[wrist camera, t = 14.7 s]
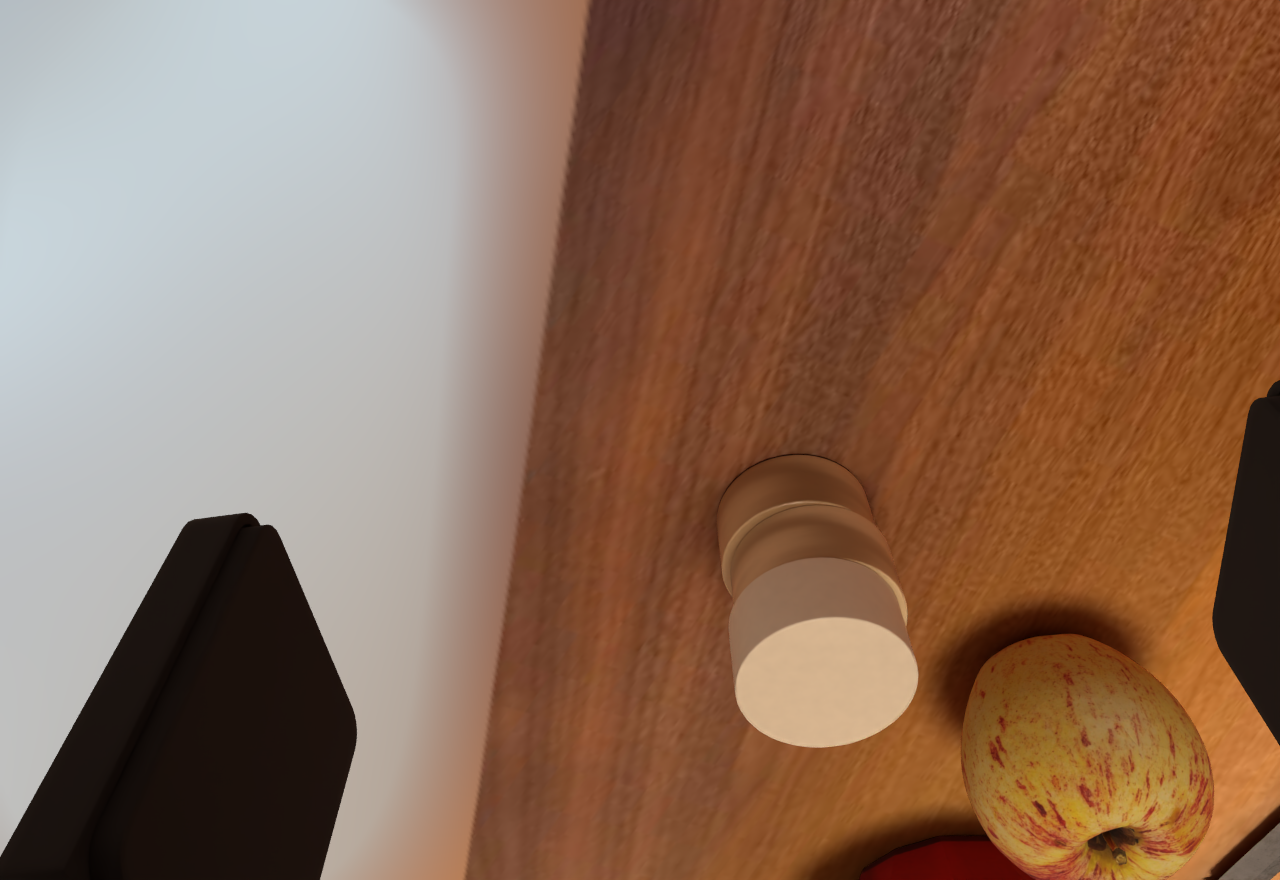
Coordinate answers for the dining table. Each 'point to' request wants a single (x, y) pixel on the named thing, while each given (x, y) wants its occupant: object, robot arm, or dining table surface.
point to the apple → (1083, 763)
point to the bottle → (945, 861)
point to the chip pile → (798, 522)
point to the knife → (1258, 860)
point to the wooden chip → (821, 653)
